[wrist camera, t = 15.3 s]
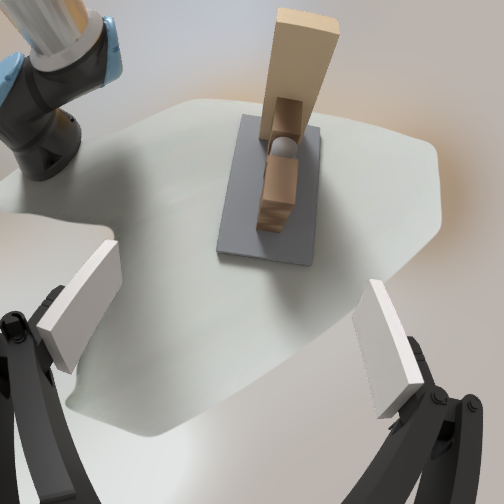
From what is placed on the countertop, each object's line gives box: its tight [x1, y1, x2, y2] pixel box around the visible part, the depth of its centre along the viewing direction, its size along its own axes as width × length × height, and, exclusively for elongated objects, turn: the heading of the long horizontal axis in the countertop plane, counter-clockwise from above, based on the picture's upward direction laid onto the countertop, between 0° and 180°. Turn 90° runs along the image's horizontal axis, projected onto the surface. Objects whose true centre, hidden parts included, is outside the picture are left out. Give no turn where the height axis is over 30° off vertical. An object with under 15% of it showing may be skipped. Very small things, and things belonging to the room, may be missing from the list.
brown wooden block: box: [256, 137, 299, 233], centre depth 39 cm, size 4×9×11 cm, turn 172°
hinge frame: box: [216, 7, 340, 266], centre depth 34 cm, size 14×25×25 cm, turn 172°
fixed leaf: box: [263, 97, 303, 178], centre depth 41 cm, size 4×10×11 cm, turn 172°
